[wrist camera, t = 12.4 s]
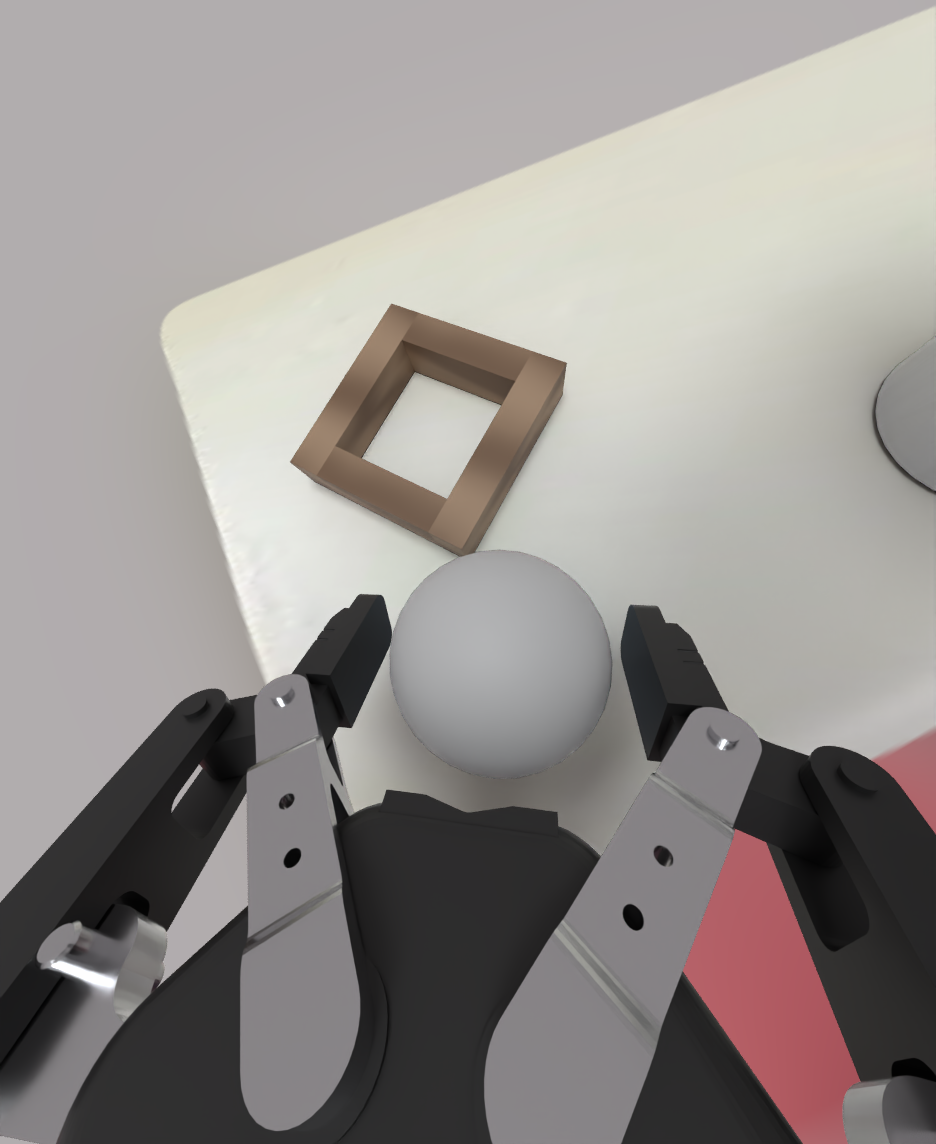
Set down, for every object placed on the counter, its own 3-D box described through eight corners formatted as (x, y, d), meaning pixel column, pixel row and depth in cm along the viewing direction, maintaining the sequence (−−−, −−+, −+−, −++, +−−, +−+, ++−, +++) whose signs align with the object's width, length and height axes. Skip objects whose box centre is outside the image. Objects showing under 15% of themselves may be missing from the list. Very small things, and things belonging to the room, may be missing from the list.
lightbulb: (488, 744, 17) (436, 892, 7) (426, 634, 19) (303, 612, 8) (596, 676, 17) (717, 716, 7) (525, 571, 19) (531, 468, 8)
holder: (404, 337, 24) (391, 303, 22) (562, 394, 22) (566, 363, 19) (314, 481, 23) (289, 461, 21) (469, 561, 20) (461, 549, 18)
